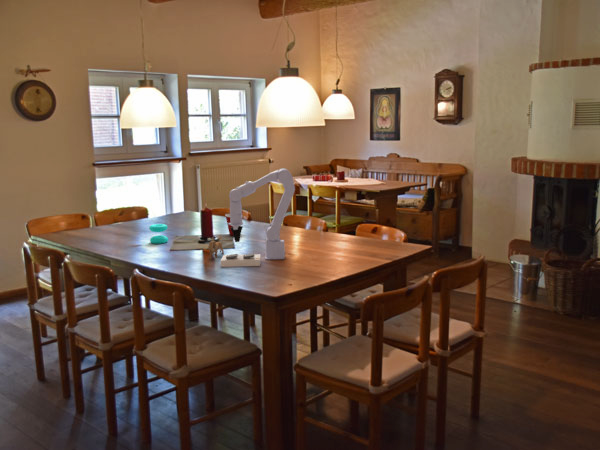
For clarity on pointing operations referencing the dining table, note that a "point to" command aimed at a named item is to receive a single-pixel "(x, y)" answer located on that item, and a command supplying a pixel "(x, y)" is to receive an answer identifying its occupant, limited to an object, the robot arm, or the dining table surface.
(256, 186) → the robot arm
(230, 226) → the plastic cup
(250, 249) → the dining table surface
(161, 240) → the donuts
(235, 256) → the rocker
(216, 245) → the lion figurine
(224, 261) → the beige switch box
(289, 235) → the dining table surface
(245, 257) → the rocker
